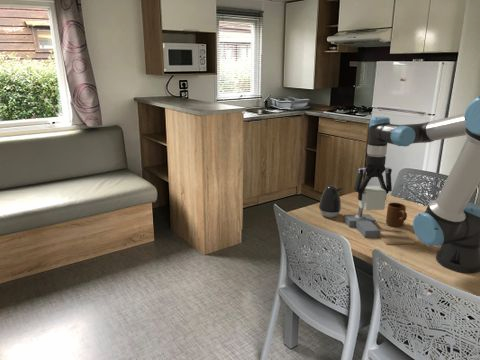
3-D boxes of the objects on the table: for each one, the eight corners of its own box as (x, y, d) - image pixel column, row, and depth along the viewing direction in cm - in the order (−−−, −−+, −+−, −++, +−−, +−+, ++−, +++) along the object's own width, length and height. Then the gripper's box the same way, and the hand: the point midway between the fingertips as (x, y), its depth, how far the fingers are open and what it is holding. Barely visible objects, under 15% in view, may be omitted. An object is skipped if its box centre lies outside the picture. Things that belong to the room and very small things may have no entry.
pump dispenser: (342, 219, 180) (345, 189, 175) (320, 219, 180) (322, 188, 176) (337, 211, 190) (340, 182, 185) (316, 211, 190) (319, 182, 185)
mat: (415, 244, 156) (415, 243, 156) (386, 244, 155) (387, 244, 155) (401, 231, 167) (401, 231, 167) (374, 232, 166) (374, 231, 166)
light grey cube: (384, 209, 159) (386, 191, 157) (365, 210, 158) (367, 191, 156) (376, 203, 167) (378, 185, 165) (358, 203, 166) (360, 186, 164)
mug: (411, 231, 168) (414, 211, 165) (395, 232, 167) (398, 212, 164) (398, 221, 179) (400, 202, 176) (382, 221, 178) (385, 202, 176)
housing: (385, 236, 162) (386, 229, 161) (358, 237, 161) (359, 229, 160) (368, 220, 180) (369, 212, 179) (343, 220, 179) (344, 213, 178)
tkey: (374, 214, 177) (378, 182, 172) (377, 220, 169) (381, 188, 165) (357, 212, 178) (360, 181, 174) (358, 219, 171) (362, 186, 166)
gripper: (396, 152, 161) (390, 203, 167) (348, 153, 159) (344, 204, 165) (405, 156, 154) (398, 209, 160) (355, 157, 152) (350, 210, 158)
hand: (371, 207), depth 163 cm, fingers closed on light grey cube, 8 cm apart
